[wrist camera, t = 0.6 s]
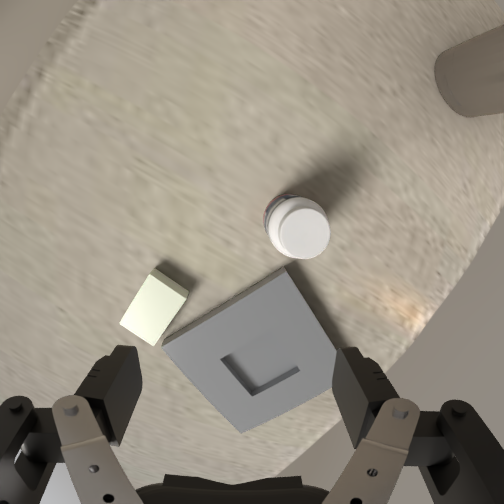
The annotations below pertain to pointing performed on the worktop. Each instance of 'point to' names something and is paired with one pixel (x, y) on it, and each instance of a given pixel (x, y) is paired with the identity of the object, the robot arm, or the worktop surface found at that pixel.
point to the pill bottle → (297, 226)
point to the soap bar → (154, 307)
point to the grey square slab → (256, 353)
